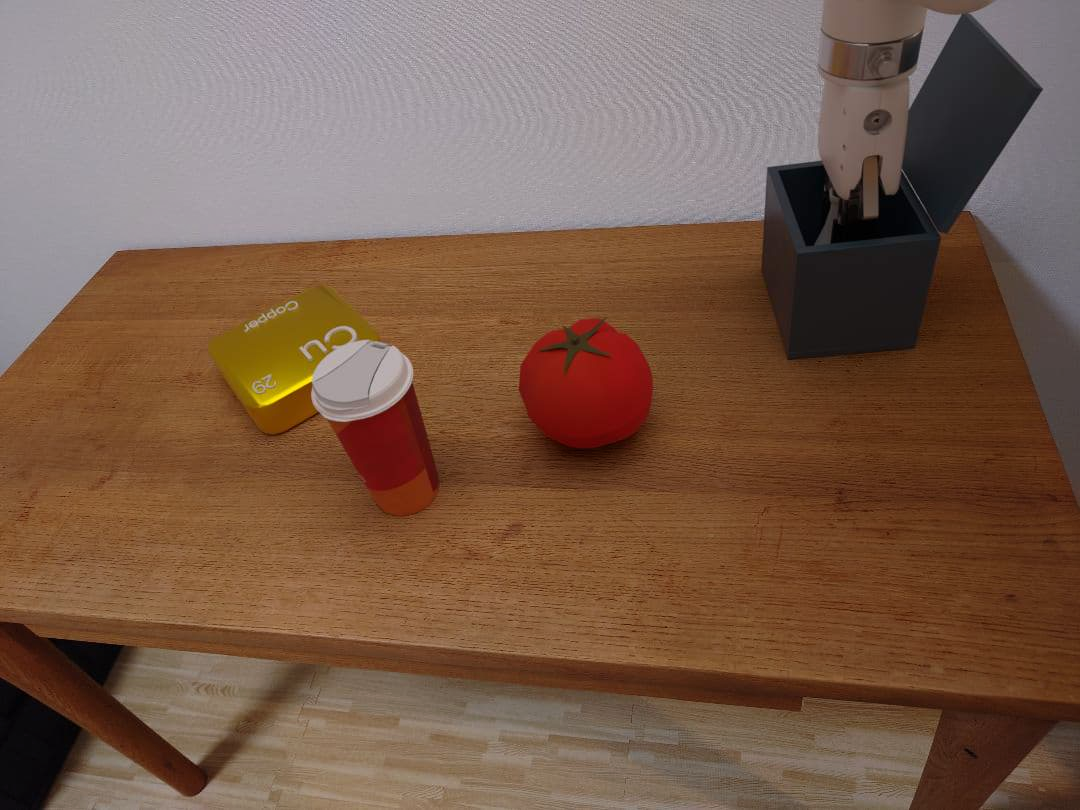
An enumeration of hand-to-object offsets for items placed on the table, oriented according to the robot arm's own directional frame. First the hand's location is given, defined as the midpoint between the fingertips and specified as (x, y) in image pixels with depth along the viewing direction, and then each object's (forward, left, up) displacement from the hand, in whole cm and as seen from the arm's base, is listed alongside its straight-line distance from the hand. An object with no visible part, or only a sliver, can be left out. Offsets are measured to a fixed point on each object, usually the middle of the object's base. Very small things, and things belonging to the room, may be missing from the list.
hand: (841, 241), depth 76 cm
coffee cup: (+42, +20, -8) cm, 47 cm away
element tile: (+56, +2, -8) cm, 57 cm away
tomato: (+25, +14, -8) cm, 30 cm away
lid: (-8, 0, +11) cm, 13 cm away
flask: (0, 0, -5) cm, 5 cm away
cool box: (0, 0, -8) cm, 8 cm away
